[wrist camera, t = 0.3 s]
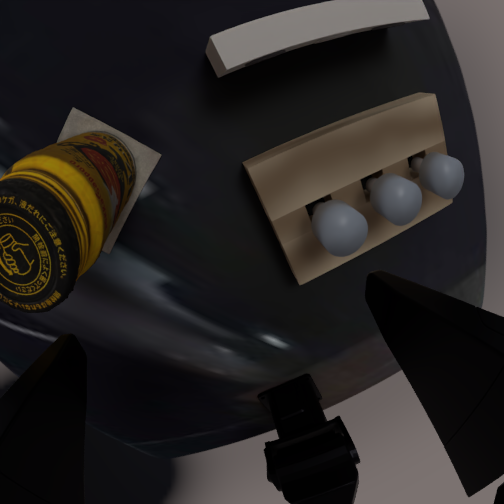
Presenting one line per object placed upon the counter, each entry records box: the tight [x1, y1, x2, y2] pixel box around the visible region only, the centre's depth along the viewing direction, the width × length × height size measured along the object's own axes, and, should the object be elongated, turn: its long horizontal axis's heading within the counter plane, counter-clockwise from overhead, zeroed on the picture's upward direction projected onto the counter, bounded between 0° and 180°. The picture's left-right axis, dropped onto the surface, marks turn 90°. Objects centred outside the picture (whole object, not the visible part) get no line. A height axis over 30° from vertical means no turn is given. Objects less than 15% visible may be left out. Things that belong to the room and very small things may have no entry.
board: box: [243, 93, 452, 285], centre depth 21 cm, size 10×16×2 cm, turn 114°
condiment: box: [0, 108, 161, 313], centre depth 13 cm, size 7×8×12 cm
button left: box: [311, 200, 368, 257], centre depth 19 cm, size 3×3×4 cm
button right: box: [411, 152, 464, 200], centre depth 19 cm, size 3×3×4 cm
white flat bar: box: [205, 0, 430, 78], centre depth 14 cm, size 2×14×5 cm, turn 114°
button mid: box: [366, 173, 422, 226], centre depth 19 cm, size 3×3×4 cm
